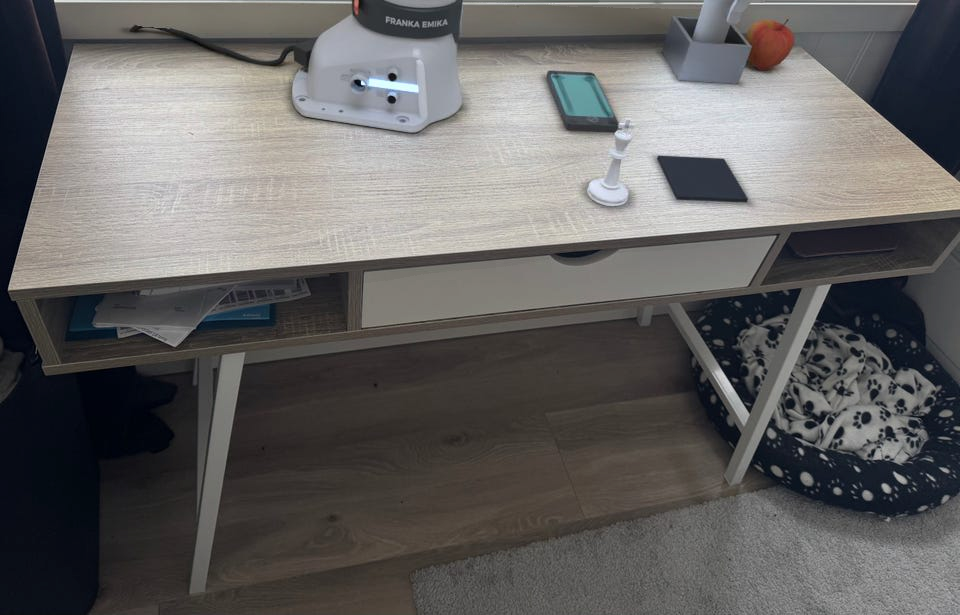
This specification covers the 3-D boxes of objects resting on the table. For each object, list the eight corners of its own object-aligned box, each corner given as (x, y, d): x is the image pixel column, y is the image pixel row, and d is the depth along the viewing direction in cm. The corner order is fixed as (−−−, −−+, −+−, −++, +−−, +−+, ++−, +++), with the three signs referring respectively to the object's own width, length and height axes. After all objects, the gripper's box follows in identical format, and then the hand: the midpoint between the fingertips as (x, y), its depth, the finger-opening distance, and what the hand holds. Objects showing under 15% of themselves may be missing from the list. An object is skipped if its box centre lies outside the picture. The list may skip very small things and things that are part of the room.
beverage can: (714, 77, 114) (741, -1, 106) (683, 71, 115) (708, -7, 106) (713, 64, 118) (740, -12, 110) (683, 58, 118) (707, -18, 110)
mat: (676, 199, 88) (677, 196, 88) (656, 158, 95) (657, 155, 94) (746, 202, 89) (748, 199, 89) (722, 161, 96) (724, 158, 95)
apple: (732, 53, 122) (749, 5, 116) (775, 59, 122) (794, 11, 117) (742, 73, 116) (761, 24, 111) (787, 79, 117) (808, 30, 111)
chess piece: (583, 181, 89) (601, 106, 82) (622, 183, 89) (644, 109, 82) (591, 205, 85) (611, 129, 78) (631, 207, 86) (655, 131, 79)
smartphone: (568, 122, 96) (546, 68, 107) (566, 130, 97) (545, 76, 108) (621, 124, 98) (595, 71, 108) (619, 132, 98) (593, 79, 109)
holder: (678, 80, 112) (690, 42, 108) (661, 52, 119) (672, 15, 115) (738, 84, 113) (752, 46, 109) (717, 56, 120) (730, 19, 116)
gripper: (707, -116, 107) (680, -19, 117) (757, -71, 93) (722, 36, 102) (748, -112, 108) (718, -16, 118) (804, -67, 94) (764, 39, 103)
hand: (720, 8), depth 110 cm, fingers open, 8 cm apart
